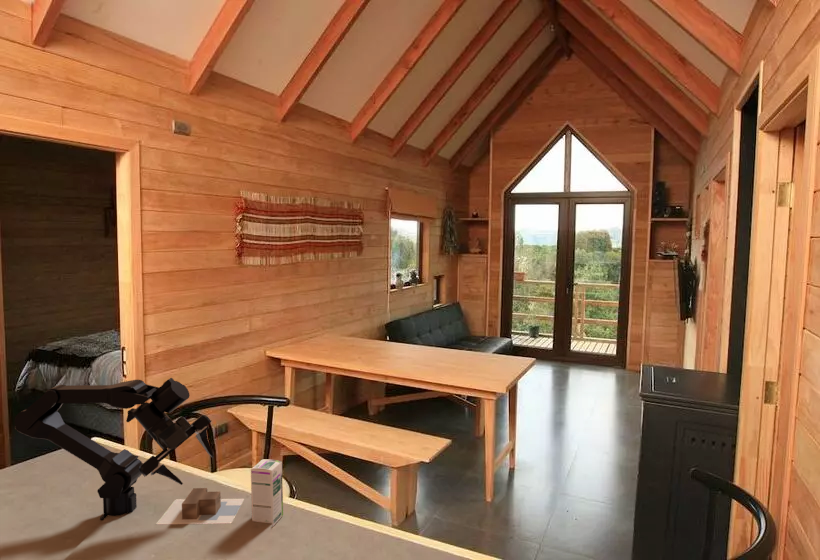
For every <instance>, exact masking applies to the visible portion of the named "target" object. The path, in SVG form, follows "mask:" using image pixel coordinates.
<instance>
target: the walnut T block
mask: <svg viewBox="0 0 820 560" xmlns="http://www.w3.org/2000/svg"><path fill="white" fill-rule="evenodd" d="M221 497H222V496H221V491H208V488H207V487H202V488H201V487H195V488H192V489H191V491H190V492H189V494H188V495H187V496H186V498H185V500H184V502H183V503H182V520H183V519H197V518H198V517H199V515H216V514H217V512H218V510H219V509H220V507H221V499H222V498H221Z"/></svg>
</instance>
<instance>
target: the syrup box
mask: <svg viewBox="0 0 820 560" xmlns="http://www.w3.org/2000/svg"><path fill="white" fill-rule="evenodd" d="M283 490H284V489H283V461H281V460H278V459H261V460H260V461H259V462H257V464H255V465H254V466H253V467H252V468H251V469H250V491H251V492H250V493H251V521H252V522H258V523H265V524H271V528H273V527H275V525H276V524H277V523H278V522H279V520H280V519H281V518H282V517H283V516H284V499H283V498H284V495H283V494H284V493H283V492H284V491H283Z"/></svg>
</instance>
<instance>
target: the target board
mask: <svg viewBox="0 0 820 560" xmlns="http://www.w3.org/2000/svg"><path fill="white" fill-rule="evenodd" d="M185 499H186V498H185ZM185 499H183V498H182V499H180V498H179V499H177V498H176V499H174V500H173V502H172V503H171V504H170V506H169V507H168V508H167V509H166V510H165V512H164V514H162V516H161V517H160V518H159V519H158V521H157V522H156V523H155V525H197V524H198V525H200V524H201V525H203V524H204V525H205V524H207V525H211V524H213V525H215V524H217V525H218V524H220V525H221V524H232V523H233V522H234V520H235V518H236V515H237V514H238V512H239V509H240V508H241V507H242V504H243V503H244V500H245V498H221V507H220V509H219V510H218V512H217V514H216V515H199V517H198V518H197V519H183V520H182V503H183V502H184V500H185Z"/></svg>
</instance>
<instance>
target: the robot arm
mask: <svg viewBox="0 0 820 560" xmlns="http://www.w3.org/2000/svg"><path fill="white" fill-rule="evenodd" d="M188 399H190V392H189V389H188V387H186V385H184V384H183V383H181V382H180V381H178V380H174V378H173V377H170V378H168V379H167V380H165V381H164V382H163V384H162V385H160V386H159V387H158V386H154V385H150V384H147V383H145V382H144V381H143V380H141V379H133V380H126V381H125V380H124V381H122V382H117V383H114V384H105V385H103V384H100V385H99V384H98V385H92V384H91V385H90V384H89V385H86V384H85V385H80V384H79V385H77V384H76V385H66V384H58V385H56V386H53V387H51V388H49V389H47V390H46V391H45V392H44V394H42V395H41V396H40V397H39V398H38V399H37V400H35V401H34V402H33V403H32V404H31V405H29V406H28V407H27V408H25V409H24V410H22V411H20V412H19V413H17V414H16V416H15V418H14V423H13V424H14V429H15V430H16V431H17V432H18V433H20V434H23V435H25V436H28V437H30V438H32V439H42V440H47V441H49V442H51V443H53V444H54V445H56V446H58V447H60V448H61V449H63V450H64V451H66V452H68V453H70V454H71V455H73V456H74V457H76V458H77V459H79V460H81V461H83V462H84V463H85V464H88V465H89V466H91V467H92V468H94V469H96V470H97V472H98V474H99V475H100V478H101V480H102V481H103V482H104V483H103V484H102V485H101V486H100V487H99V488H98V489H97V493H98V496H99V499H102V506H103V507H102V509H103V511H102V512H103V514H102V515H101V516H100V517H99V519H100V521H104V520H105V519H106V518H107V517H108V516H110V517H118V516H122V515H125V514H131V513H133V512H134V511H135V510H136V508H137V493H135V486H133V485H134V484H136V483H137V482H138V478H140V477H141V475H142V476H144V478H145V477H147V476H149V474H150V476H154V475H155V474H159V476H164V477H165V478H168V479H169V480H172V481H173V482H175V483H177V484H178V485H181V486H182V485H183V484H184V483H183V482H182V481H181V479H180V478H179V477H178V476H177V475H176V474H174V473H173V472H172V471H171V470H170V469H169V468H168V467H167V466H166V465H165V464H161V462H162V461H163V460H164V459H165V458H166V457H167V456H169V455H170V454H171V453H172V452H174V451H175V450H176V449H177V448H178V447H179V446H181V445H182V444H184V442H185V441H187V440H188V439H190V437H191V436H193V435H195V438H196V439H197V441H198V442H199V443H200V444H201V446H202V447H203V449H204V450H205V452H206V453H207V454H208V455H209V456H210V457H211V458H214V453H213V451H212V447H211V446H210V442H209V439H208V432H207V431H208V429H210V427H209V424H210V423H212V420H211V418H209V417H208V416H207V415H206V414H202V415H200V416H199V417H197V419H195V420H194V421H193V422H192V423H190V422H189V420H187V419H186V418H185V417H184V416H181V417H179V418H178V419H177V420H176V421H175V422H174V421H173V420H172V419H171V417H169V415H167V414H168V413H169V414H170V413H172V412H174V410H176V409H177V408H178V407H179V406H181V405H182V404H183V403H185V402H186V401H187V400H188ZM149 400H151V401H150V402H149ZM63 404H105V405H108V406H111V407H112V408H119V409H126V410H127V409H128V410H127V416H126V419H125V420H126V423H130V422H131V421H132V420H134V419H136V420H137V422H138V423H139V424H140V425H141V426H142V427H143V429H144V430H145V431H146V432H147V433H148V434H149V436H150V437H151V438H152V439H153V440H154V441H155V442H156V444H157V445H158V446H159V447H160V448H161V451H160V452H159V453H158V454H157V455H156V456H155V455H152V456H150V457H149V458H148V459H147V460H146V461H144V462H143V461H142V460H141V459H140V458H139V455H135V454H133V453H132V452H130V451H129V450H128V449H124V448H123V450H121V451H120V452H113V451H111V450H110V449H108V448H106V447H104V446H103V445H101V444H99V443H98V442H97V441H95V440H93V439H91V438H89V437H88V436H86V435H84V434H83V433H81V432H80V431H78V430H77V429H74V428H73V427H71V426H70V425H68V424H67V423H65V422H64V420H63V418H62V415H61V413H60V412H58V411H59V410H60V409H61V408H62V406H63ZM137 405H139V406H138V407H136V408H133V407H135V406H137Z"/></svg>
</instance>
